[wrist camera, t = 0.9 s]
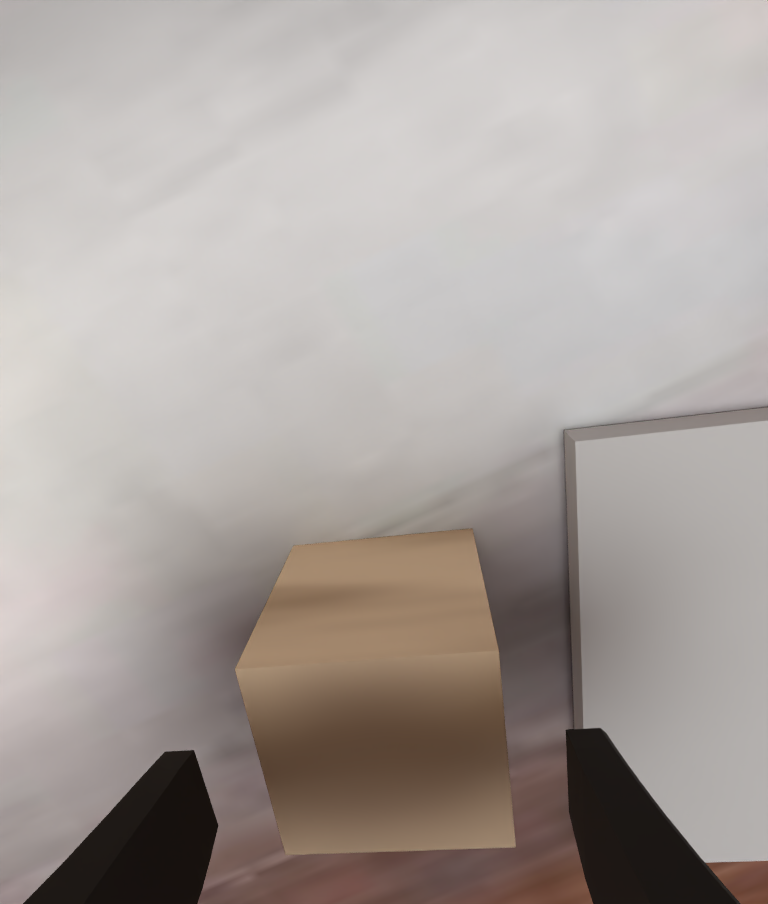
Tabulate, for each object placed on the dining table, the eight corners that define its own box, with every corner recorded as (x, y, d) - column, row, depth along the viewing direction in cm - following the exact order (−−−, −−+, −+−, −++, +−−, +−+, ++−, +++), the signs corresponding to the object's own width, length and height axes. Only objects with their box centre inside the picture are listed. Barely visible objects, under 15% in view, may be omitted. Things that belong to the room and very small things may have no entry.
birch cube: (486, 676, 16) (515, 847, 11) (324, 687, 16) (285, 854, 11) (471, 527, 14) (498, 650, 9) (294, 544, 15) (234, 669, 10)
